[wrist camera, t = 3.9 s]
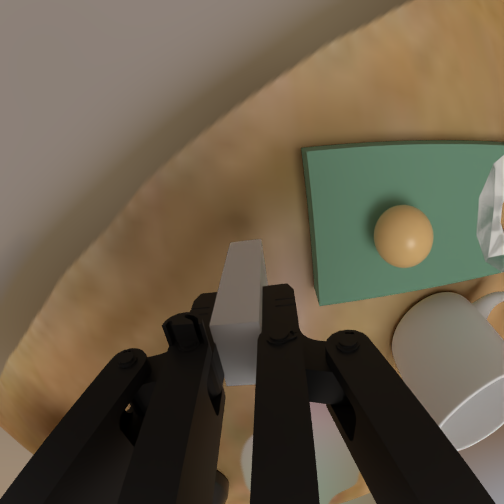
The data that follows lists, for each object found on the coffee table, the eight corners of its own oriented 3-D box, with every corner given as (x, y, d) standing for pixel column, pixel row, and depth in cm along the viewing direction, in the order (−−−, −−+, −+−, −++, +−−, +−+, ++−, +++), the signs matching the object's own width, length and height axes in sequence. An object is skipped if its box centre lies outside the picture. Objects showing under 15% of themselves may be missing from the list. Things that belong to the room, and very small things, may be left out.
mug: (503, 298, 23) (565, 365, 14) (415, 377, 27) (452, 461, 17) (474, 240, 21) (558, 309, 11) (370, 336, 25) (410, 438, 15)
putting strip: (314, 287, 23) (319, 305, 21) (301, 147, 19) (306, 151, 17) (530, 250, 21) (545, 261, 19) (539, 144, 17) (557, 149, 15)
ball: (366, 256, 19) (385, 283, 16) (364, 200, 18) (386, 219, 15) (416, 249, 19) (441, 273, 16) (417, 195, 18) (446, 212, 14)
